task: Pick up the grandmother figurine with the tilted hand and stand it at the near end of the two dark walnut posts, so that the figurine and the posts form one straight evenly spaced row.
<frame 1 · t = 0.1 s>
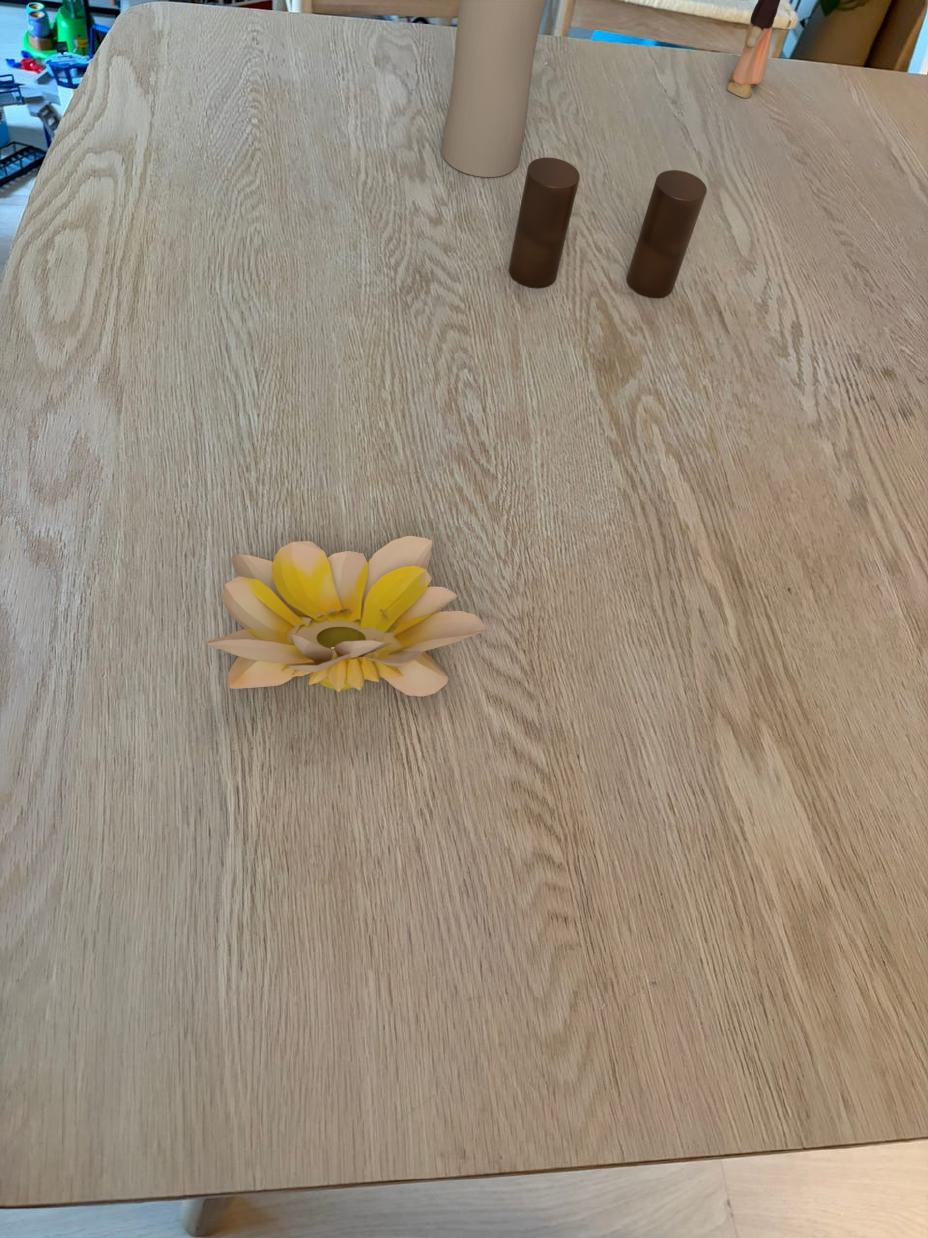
grandmother figurine: (741, 85, 108), on the table
decorative flower: (348, 652, 62), on the table
marker row: (591, 277, 85), on the table
candle: (484, 137, 96), on the table
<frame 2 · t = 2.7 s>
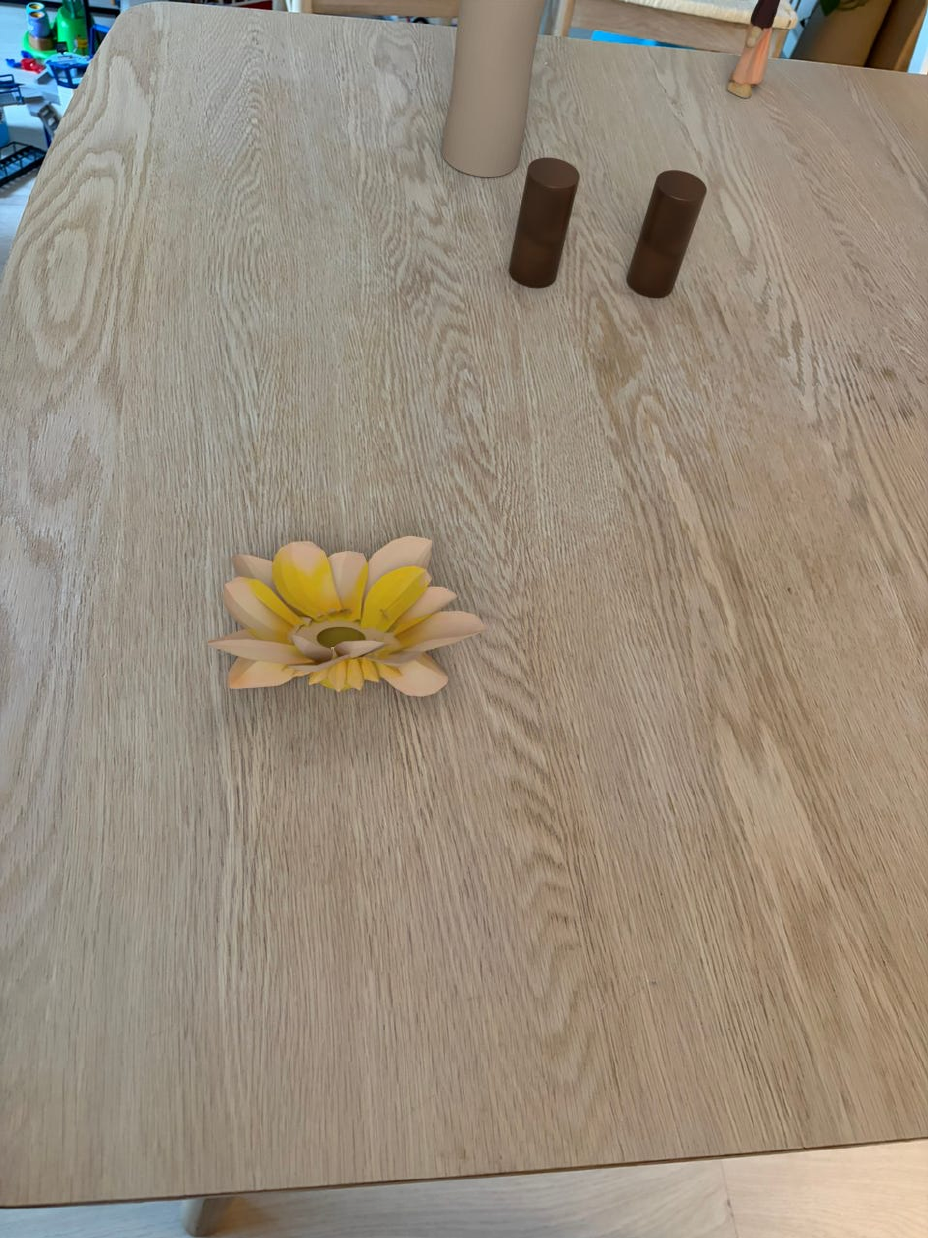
nothing on the table moved.
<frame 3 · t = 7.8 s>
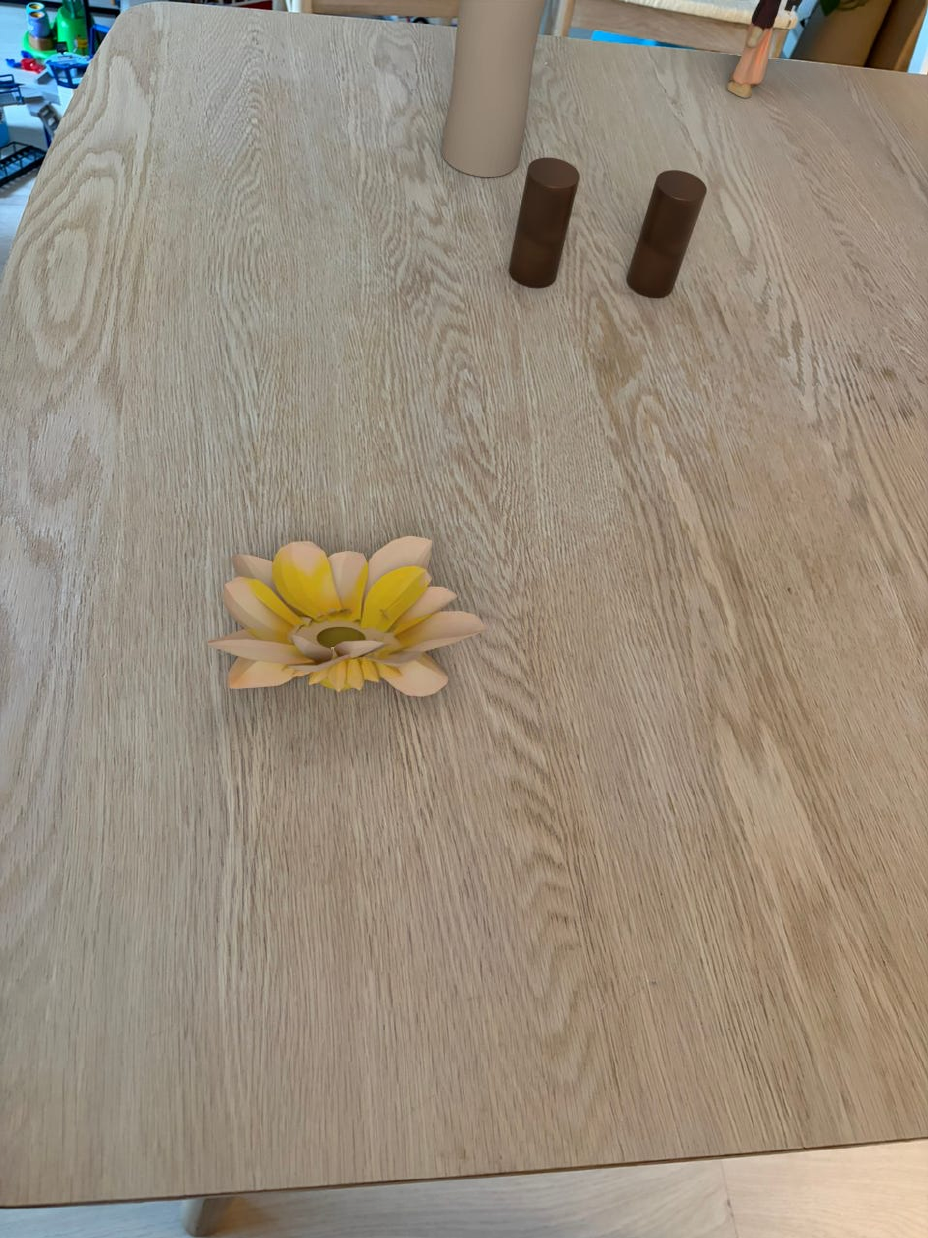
hand: (769, 0, 99), 9 cm above the table, tool tilted 45°, fingers closed on grandmother figurine, 3 cm apart
grandmother figurine: (741, 85, 108), on the table, touching gripper
everything else where it was.
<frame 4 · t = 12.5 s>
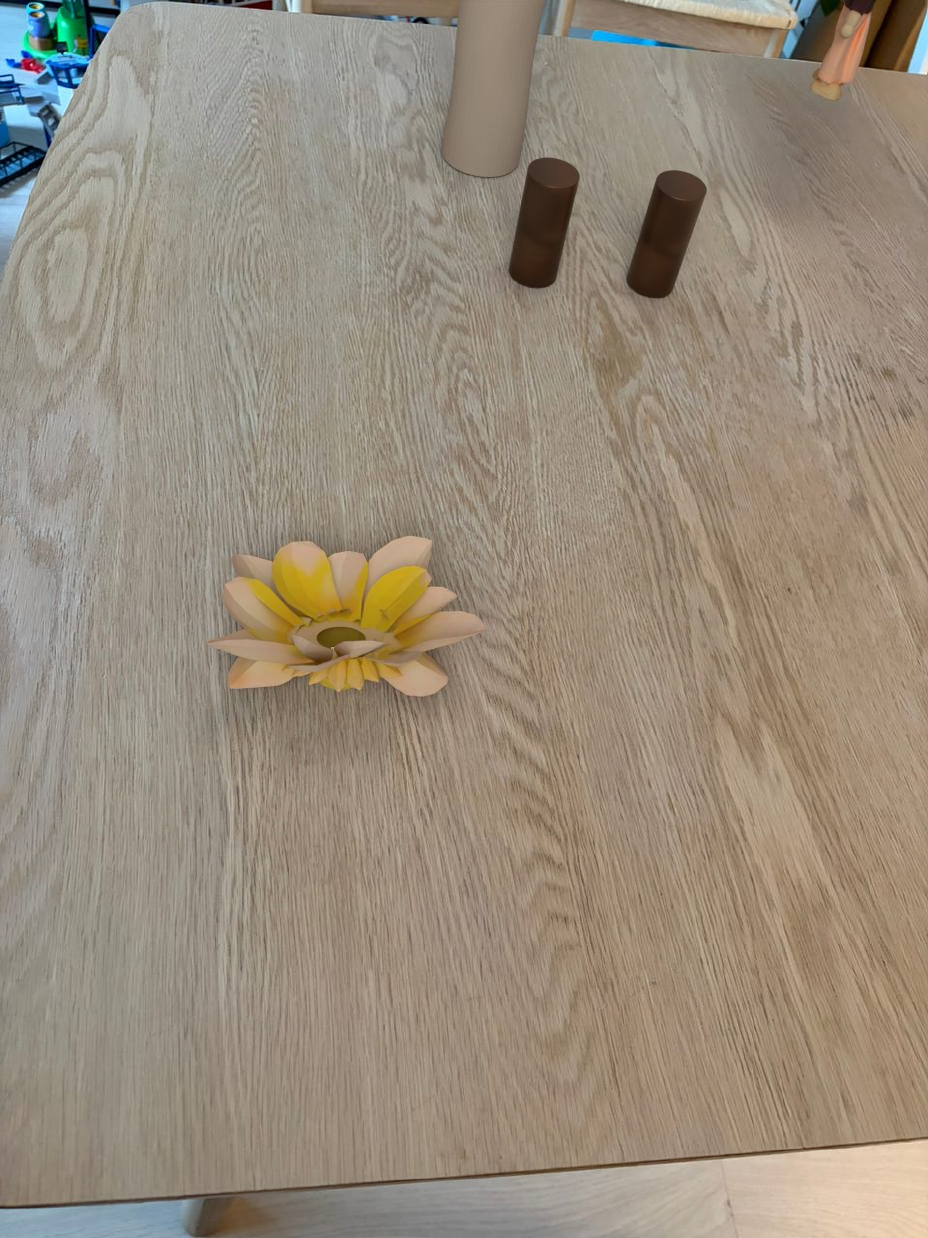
grandmother figurine: (826, 85, 87), point 11 cm above the table, touching gripper
everything else where it was.
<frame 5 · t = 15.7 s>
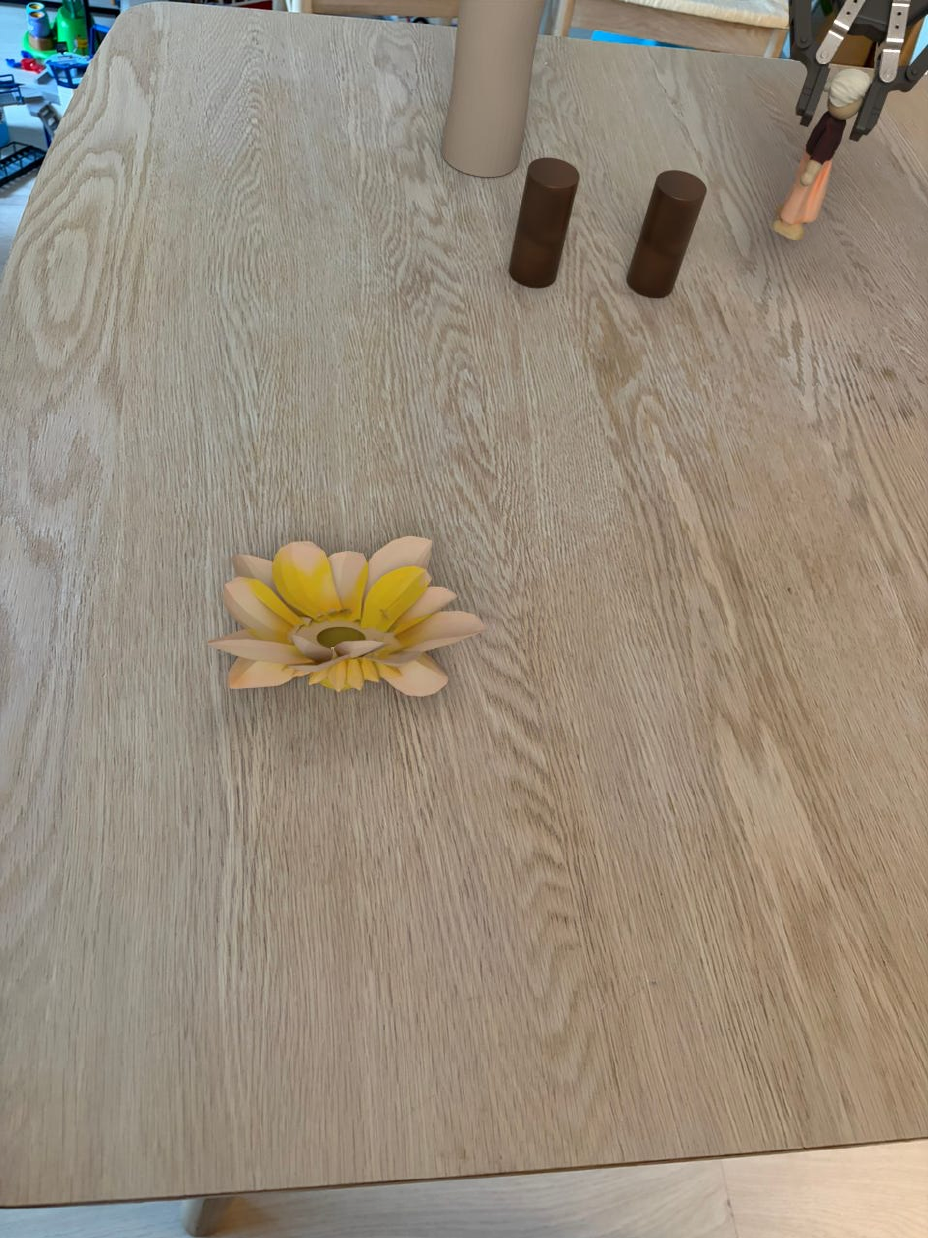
hand: (831, 128, 78), 13 cm above the table, tool tilted 45°, fingers closed on grandmother figurine, 3 cm apart
grandmother figurine: (789, 222, 86), point 4 cm above the table, touching gripper
everything else where it was.
when the fingers open (9 cm above the table, at t = 17.8 s): grandmother figurine stays where it is, on the table.
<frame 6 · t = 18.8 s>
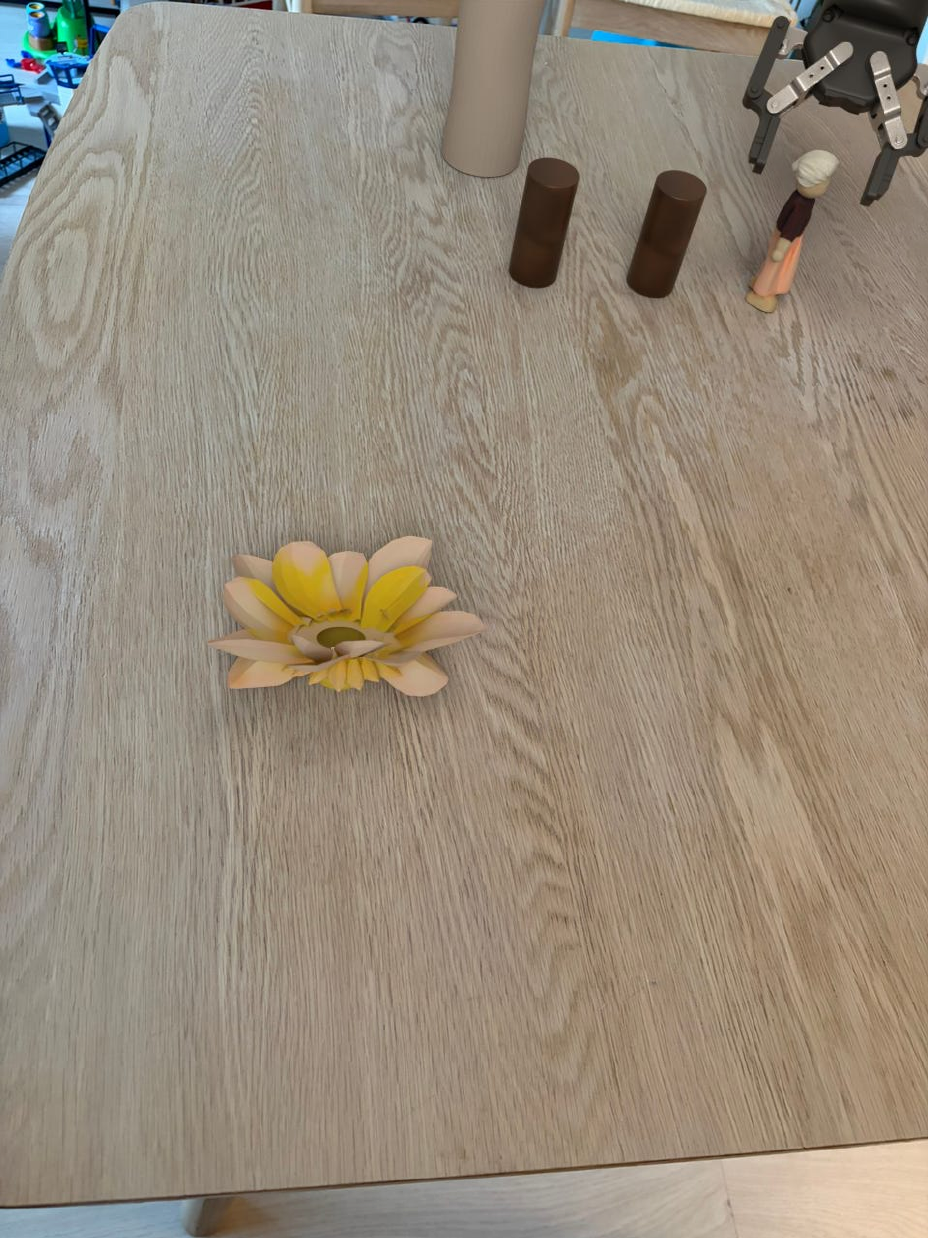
hand: (812, 186, 78), 11 cm above the table, tool tilted 45°, fingers open, 8 cm apart
grandmother figurine: (763, 293, 88), on the table
everything else where it was.
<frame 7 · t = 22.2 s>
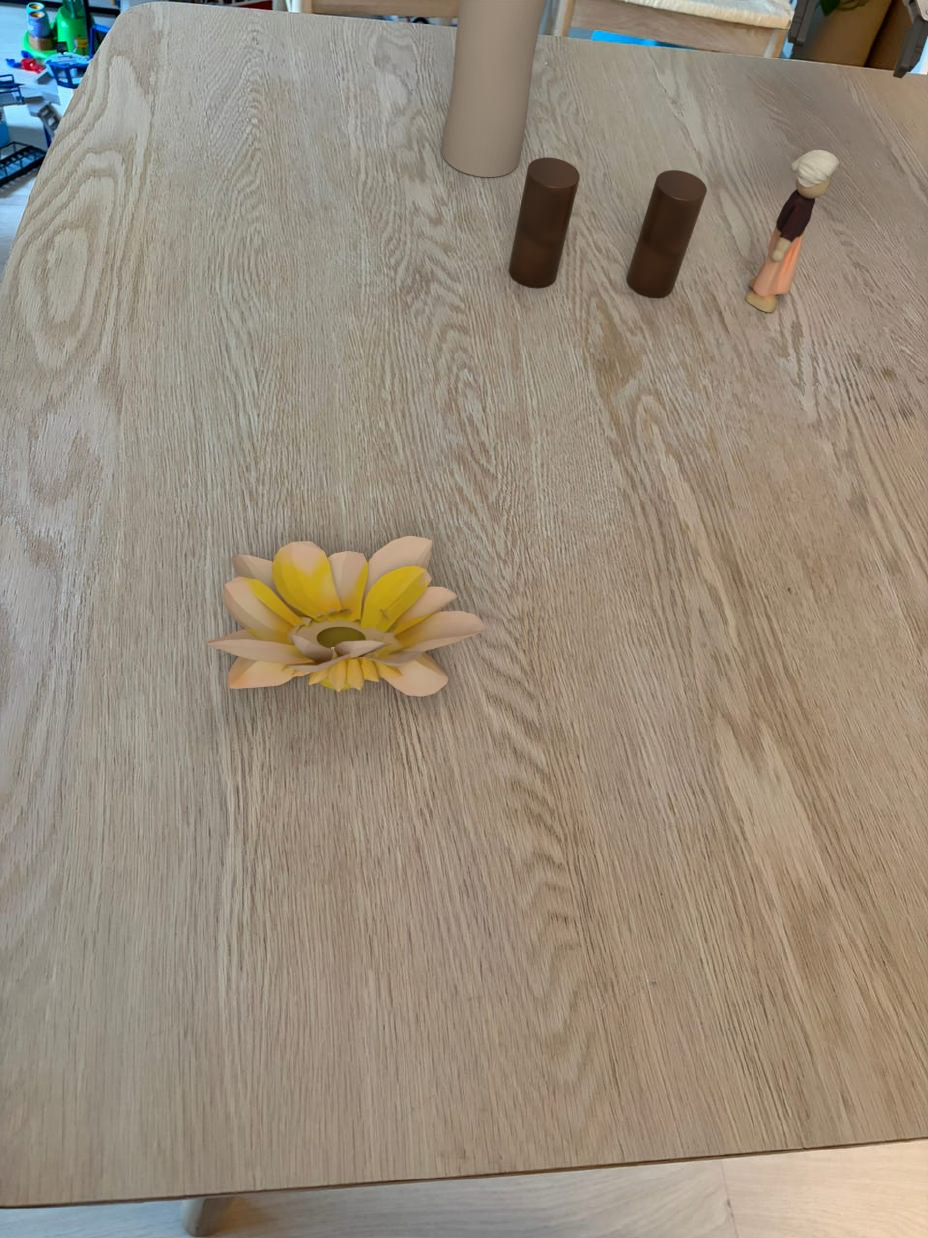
hand: (848, 62, 84), 14 cm above the table, tool tilted 40°, fingers open, 8 cm apart
nothing on the table moved.
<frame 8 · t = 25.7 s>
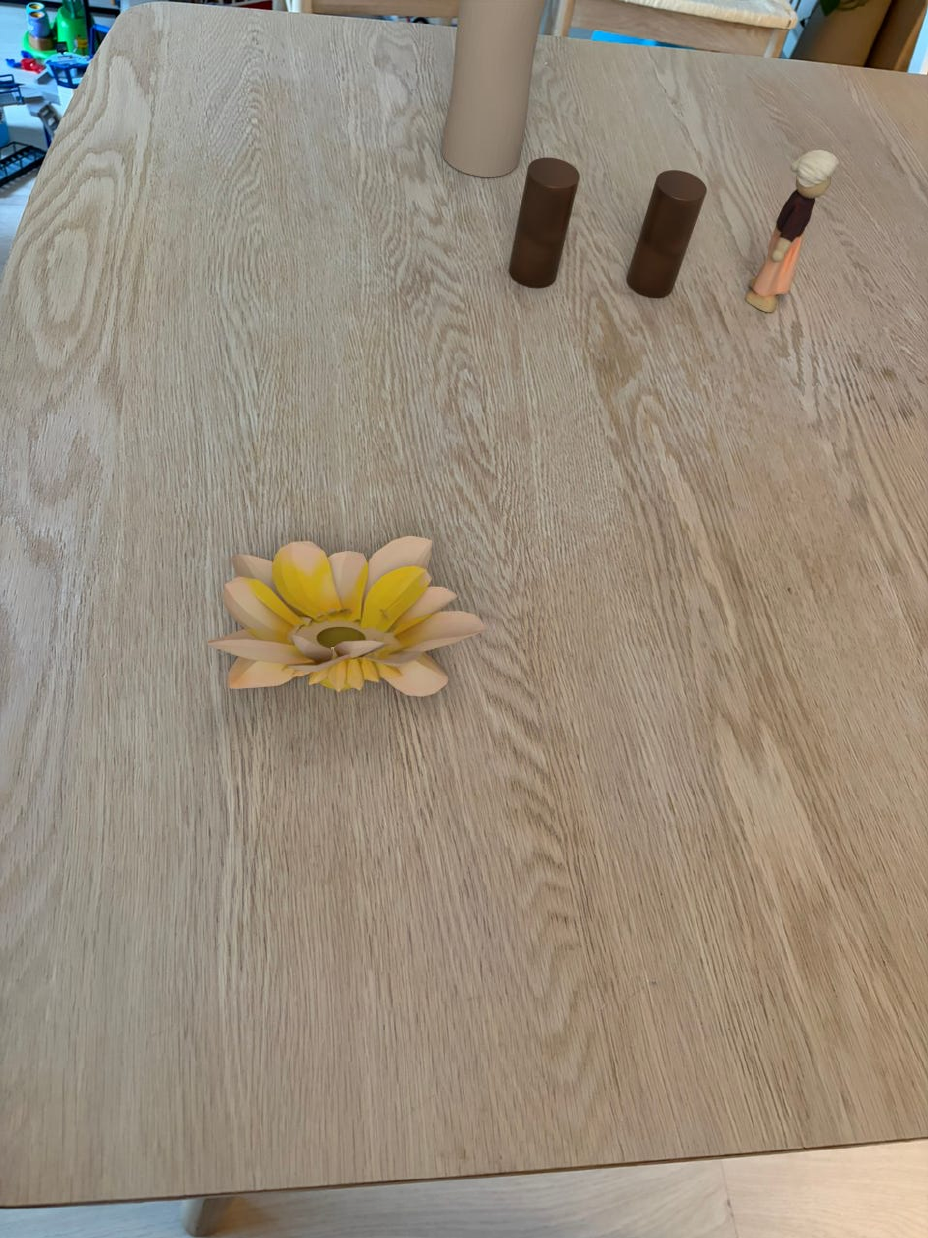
nothing on the table moved.
at the end: grandmother figurine 0.1 cm from the target spot on the table beside the marker row, on the table; grandmother figurine tilted 0°; the gripper is holding nothing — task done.
